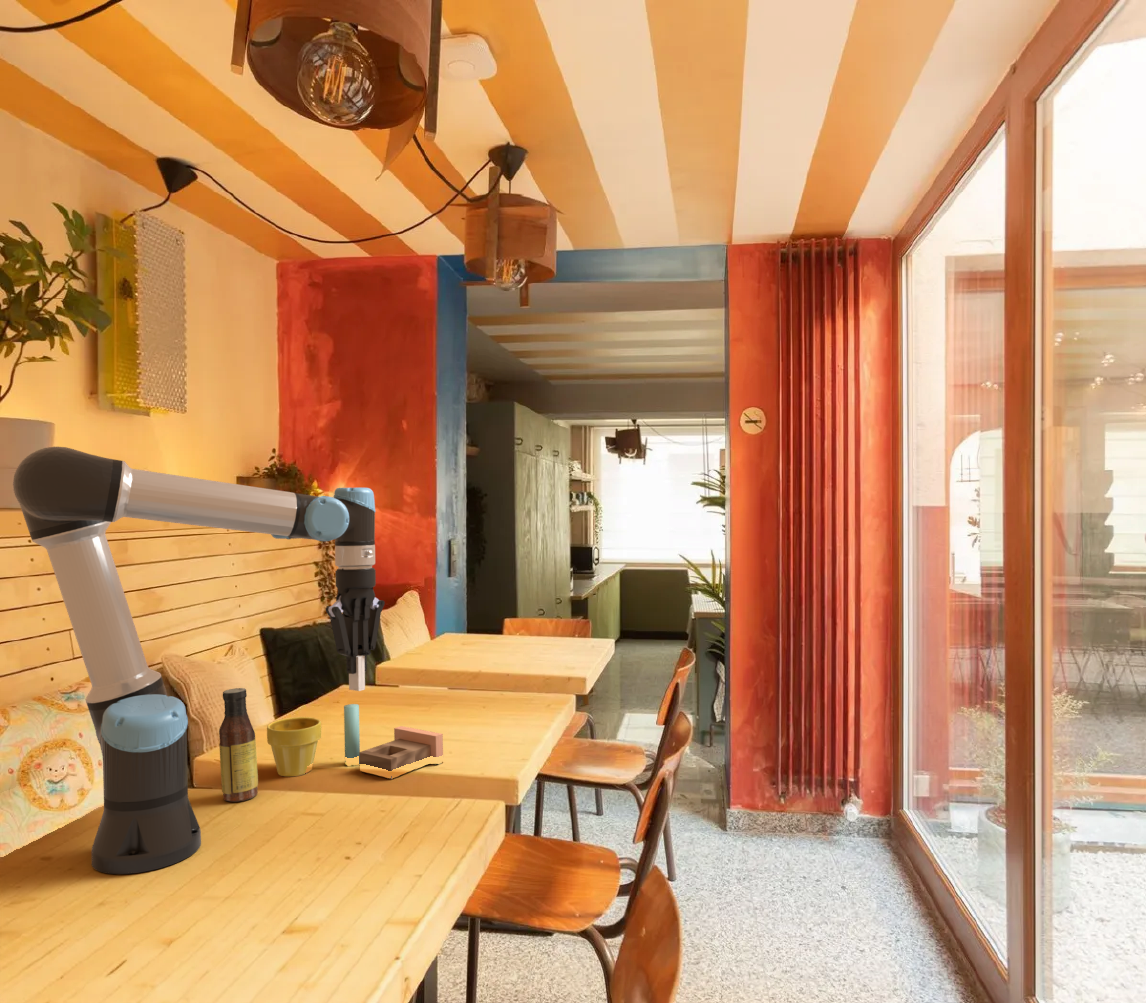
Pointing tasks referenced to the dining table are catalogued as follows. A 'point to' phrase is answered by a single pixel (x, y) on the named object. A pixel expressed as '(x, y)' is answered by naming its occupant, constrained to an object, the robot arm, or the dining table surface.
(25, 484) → the robot arm
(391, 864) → the dining table surface
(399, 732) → the wall
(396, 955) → the dining table surface
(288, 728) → the plant pot
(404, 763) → the block
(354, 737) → the dowel
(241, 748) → the sauce bottle
